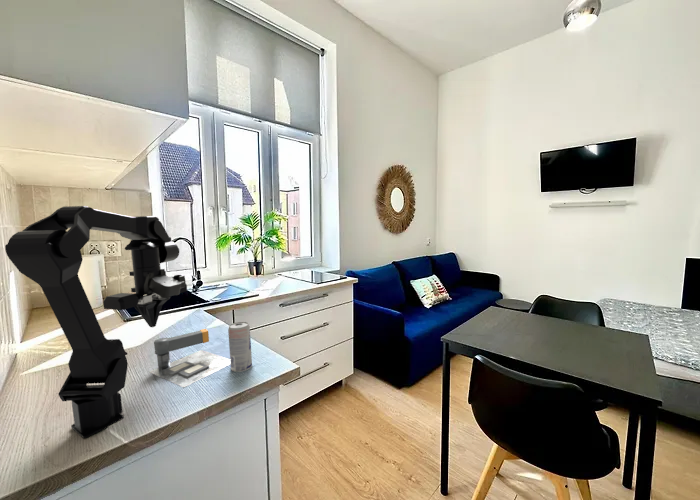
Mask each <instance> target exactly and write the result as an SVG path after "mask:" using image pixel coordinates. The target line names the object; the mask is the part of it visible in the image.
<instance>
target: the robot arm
mask: <svg viewBox="0 0 700 500" xmlns="http://www.w3.org/2000/svg"><path fill="white" fill-rule="evenodd" d="M91 230H92V231H100V232H101V231H102V232H108V233H115V234H118V235H120V237H122V238H125V239H127V240H130V242H129V243H128V244H126V246H125V247H124V251H131V261H132V270H133V271H129V277H133V282H134V283H133V284H134V287H131V288H130V291H131V293H129V292H128V293H127V292H120V293H115V294H111V295H107V296H105V298H104V300H103V301H102V303H103V309H104V310H114V311H125V310H129V309H131V308H134V309H135V310H136V311H137V312H138V313H139V314H140V316H141V317H142V318H143V320H144V321H145V323H146V324H147V326H149V327H150V328H154V327H156V326H157V322H158V319H159V317H160V316H159V315H160V314H161V313H160V312H161V310H162V307H163V305H164V304H165V303H166V302H167V301H169V300H170V299H171V297H172V296H173V297H175V296H179V295H180V294H182V293H186V292H188V285H187V283H186V282H187V281H186V277H185V275H184V274H182V273H178V274H174V276H173V275H171V276H167V273H166V269H165V268H161V264H164V263H168V262H173V261H175V260H177V258H178V257H179V255H180V248H179V246H178V245H177V244H176V242H174V241H172V237H171V236H169V234H168V232H167V230H166V229H165V226H164V225H163V223H162V222H161V220H160V219H159V217H158V216H156V215H142V216H138V215H137V216H130V215H125V214H119V213H116V212H110V211H104V210H100V209H95V208H94V207H93V208H92V207H90V206H87V205H75V206H74V205H73V206H68V205H67V206H66V205H65V206H62V207H60V208H58V209H56V210H55V211H54V212H53V213H51V214H50V215H48V216H46V217H44V218H41V219H39V220H38V221H35V222H34V223H32V224H29V225H28V226H26V227H25V228H24V229H23V230H22V231H21V230H20V231H17V232H16V233H14V234H12V236H11V237H9V239H8V241H7V243H5V245H4V246H5V247H4V249H5V254H6V256H7V257H8V259H9V260H10V261H11V263H12V264H13V265H14V267H15V268H16V269H17V270H18V271H19V273H21V275H24V277H25V276H26V277H27V278H28V279H30V280H31V281H33V282H34V283H36V284H38V285H39V287H40V288H41V290H42V292H43V293H44V296H45V298H46V300H47V302H48V304H49V306H50V307H51V310H52V311H53V314H54V316H55V318H56V320H57V322H58V324H59V325H60V328H61V330H62V332H63V334H64V336H65V339H66V340H67V342H68V344H69V345H70V346H69V347H70V348H71V350H72V352H71V355H70V357H69V361H68V368H69V371H70V372H69V373H68V375H67V377H66V379H65V381H64V383H63V385H62V386H61V389H60V390H59V391H58V396H59V398H60V400H61V401H62V402H69V401H71V407H72V414H73V422H74V423H72V424H71V429H72V430H73V431H74V432H75V433H77V434H78V435H79V436H80V437H81V438H82V439H88V438H89V437H91V436H93V435H95V434H98V433H99V432H101V431H103V430H105V429H107V428H108V427H109V426H112V425H113V424H115V423H117V422H119V421H121V420H123V419H124V418H125V417H124V416H125V415H123V414H122V413H123V404H122V395H121V393H120V391H121V390H122V389H124V388H125V386H126V377H127V373H128V359H127V355H128V352H127V351H126V350H125V348H124V345H123V342H122V340H121V339H119V338H117V339H116V338H114V339H113V338H111V339H110V338H109V339H107V337H106V336H105V335H104V332H103V330H102V328H101V325H100V323H99V321H98V318H97V316H96V313H95V312H94V309H93V307H92V305H91V303H90V299H89V298H88V295H87V294H86V290H85V289H84V286H83V285H82V282H81V280H80V278H79V275H78V274H79V272H80V268H81V266H82V263H83V256H82V252H81V249H83V247H85V246H86V244H87V243H88V242H89V241H90V237H91V236H90V235H91V232H90V231H91ZM88 384H89V385H88Z"/></svg>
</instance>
